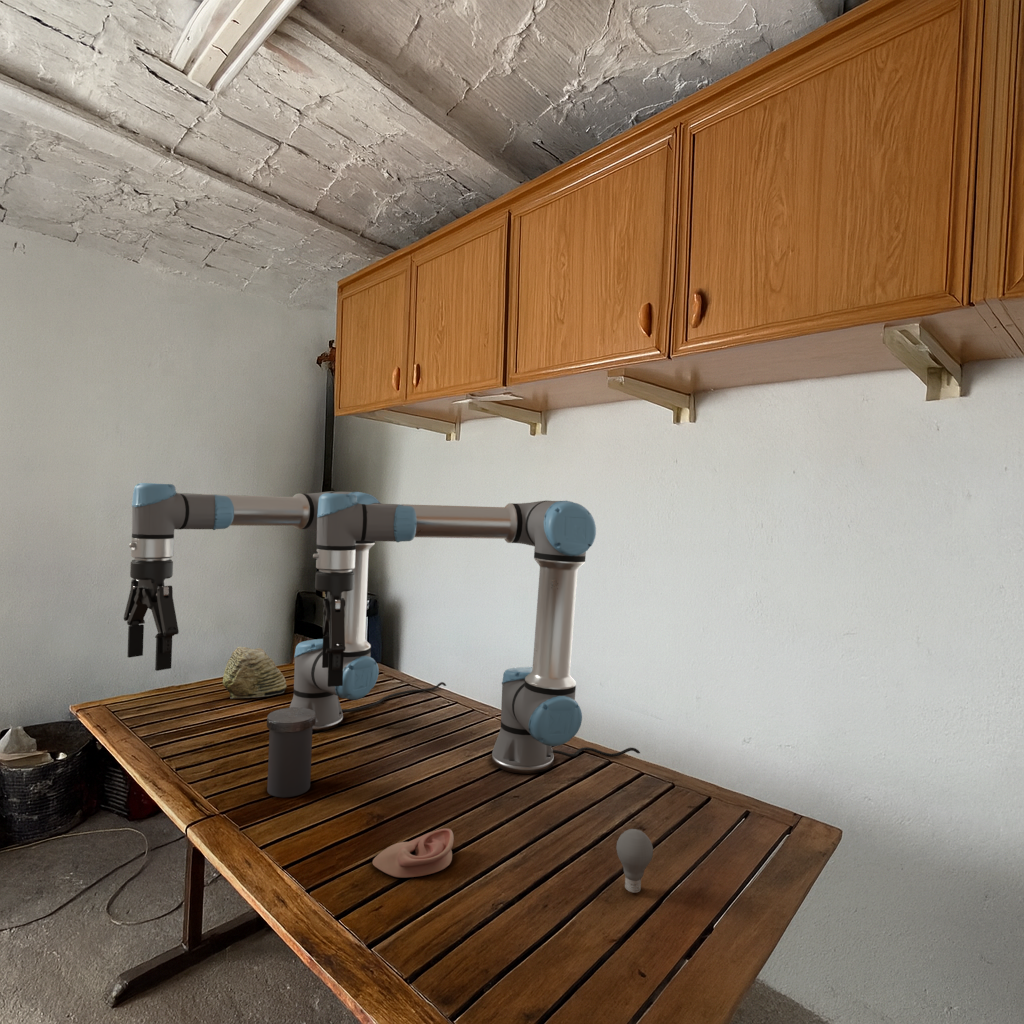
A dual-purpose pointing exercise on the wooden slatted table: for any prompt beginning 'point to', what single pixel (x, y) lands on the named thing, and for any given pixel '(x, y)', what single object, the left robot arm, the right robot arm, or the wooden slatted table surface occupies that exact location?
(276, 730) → the lid
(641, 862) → the light bulb
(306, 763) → the jar
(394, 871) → the anatomical model
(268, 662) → the fossil
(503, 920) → the wooden slatted table surface
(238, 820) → the wooden slatted table surface
